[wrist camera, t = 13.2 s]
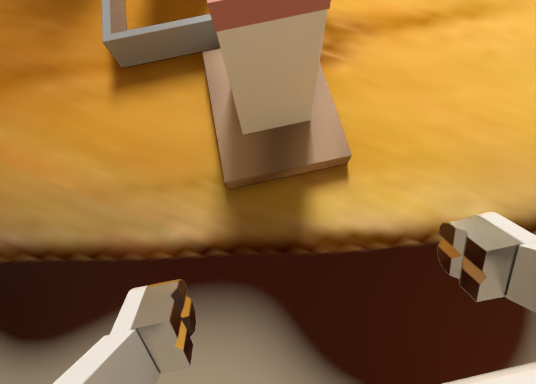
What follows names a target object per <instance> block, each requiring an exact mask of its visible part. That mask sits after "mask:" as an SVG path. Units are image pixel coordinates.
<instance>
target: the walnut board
mask: <svg viewBox="0 0 536 384" xmlns="http://www.w3.org/2000/svg"><path fill="white" fill-rule="evenodd" d="M203 58H204V64H205V70H206V76H207V81H208V87H209V93H210V99H211V105H212V111H213V116H214V122H215V128H216V134H217V140H218V146H219V152H220V157H221V163H222V169H223V175H224V181H225V184H226V186H227V188H228V189H231V188H236V187H240V186H245V185H250V184H254V183H259V182H264V181H268V180H273V179H278V178H282V177H287V176H292V175H296V174H301V173H306V172H310V171H315V170H320V169H324V168H329V167H333V166H338V165H343V164H347V163H348V162H349V160H350V158H351V156H352V155H351V152H350V149H349V146H348V143H347V140H346V137H345V134H344V132H343V129H342V126H341V123H340V120H339V117H338V114H337V111H336V108H335V105H334V102H333V99H332V96H331V93H330V91H329V88H328V85H327V82H326V79H325V76H324V73H323V70H322V67H321V64H320V62H319V68H318V75H317V81H316V88H315V94H314V101H313V107H312V114H311V120H309V121H305V122H300V123H295V124H290V125H286V126H281V127H276V128H272V129H267V130H262V131H257V132H253V133H248V134H243V133H242V129H241V125H240V121H239V117H238V114H237V110H236V106H235V102H234V98H233V94H232V90H231V87H230V83H229V79H228V75H227V71H226V67H225V63H224V60H223V56H222V52H221V48H220V49H215V50H210V51H205V52H203Z"/></svg>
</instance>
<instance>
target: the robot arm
mask: <svg viewBox="0 0 536 384" xmlns="http://www.w3.org/2000/svg"><path fill="white" fill-rule="evenodd" d="M439 235H440V236H441V237H442V238H443V240H442V241H441V242H440V244H439V245H438V251H437V255H438V258H439V261H440V264H441V265H442V267H443V269H444V270H445V271H446V272H447V273H448V274H449V275H451V276H453V277H456V278H458V279H460V286H461V287H462V288H463V289H464V290H465V291H466V292H467V293H468V294H469V295H470V296H471V297H472V298H473V299H474V300H475V301H476V302H479V301H484V300H489V299H494V298H499V297H505V296H506V298H508V299H509V300H512V301H513V302H516V303H518V304H520V305H522V306H524V307H526V308H528V309H530V310H532V311H534V312H536V236H535V235H533V234H532V233H530V232H528V231H527V230H525V229H523V228H521V227H520V226H518V225H516V224H515V223H513V222H511V221H509V220H508V219H506V218H504V217H503V216H501V215H499V214H498V213H495V212H486V213H482V214H478V215H474V216H471V217H467V218H462V219H458V220H453V221H449V222H444V223H442V225H441V226H440V230H439ZM186 293H187V287H186V285H185V282H184V280H182V279H179V280H174V281H168V282H163V283H157V284H152V285H149V286H143V287H138V288H133V289H131V290H130V291H129V293H128V294H127V297H126V299H125V301H124V304H123V306H122V308H121V310H120V313H119V315H118V317H117V320H116V322H115V324H114V326H113V328H112V331H111V333H110V335H107V336H104V337H103V338H102V339H100V340H99V341H98V342H97V343H96V344H95V345H94V346H93V347H92V348H91V349H90V350H89V351H88V352H87V353H86V354H84V356H82V357H81V358H80V359H79V360H78V361H77V362H76V363H75V364H74V365H73V366H71V367H70V368H69V369H68V370H67V371H66V372H65V373H64V374H63V375H62V376H61V377H60V378H59V379H58V380H57V381H55V382H54V383H53V384H155V383H156V382H157V380H158V379H159V377H160V374H161V373H165V372H169V371H173V370H177V369H181V368H185V367H189V366H190V364H191V357H192V350H193V343H192V340H191V338H190V337H191V335H192V334H193V333H194V332H195V325H196V316H195V309H194V305H193V302H192V300H191V299H190V298H188V297H187V296H186ZM443 384H536V362H533V363H529V364H525V365H521V366H516V367H512V368H508V369H503V370H499V371H495V372H491V373H486V374H482V375H478V376H473V377H469V378H465V379H460V380H457V381H452V382H448V383H443Z"/></svg>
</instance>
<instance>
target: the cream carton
mask: <svg viewBox="0 0 536 384" xmlns="http://www.w3.org/2000/svg"><path fill="white" fill-rule="evenodd" d="M330 1H331V0H207V4H208V7H209V11H210V15H211V19H212V23H213V26H214V30H215V32H217V36H218V40H219V44H220V48H221V52H222V56H223V60H224V63H225V67H226V71H227V75H228V79H229V83H230V87H231V90H232V94H233V98H234V102H235V106H236V110H237V114H238V117H239V121H240V125H241V129H242V133H243V134H248V133H253V132H257V131H262V130H267V129H272V128H276V127H281V126H286V125H290V124H295V123H300V122H305V121H309V120H311V114H312V107H313V101H314V94H315V88H316V81H317V75H318V68H319V62H320V55H321V49H322V42H323V36H324V29H325V23H326V16H327V10H328V9H329V7H330Z"/></svg>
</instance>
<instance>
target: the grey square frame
mask: <svg viewBox="0 0 536 384" xmlns="http://www.w3.org/2000/svg"><path fill="white" fill-rule="evenodd" d="M102 31H103V43H104V44H105V46H106V47H107V48H108V50H109V51H110V53H111V54H112V55H113V57H114V58H115V60H116V61H117V62H118V64H119V65H120V67H121V68H124V67H128V66H133V65H138V64H143V63H148V62H153V61H158V60H163V59H168V58H172V57H177V56H182V55H187V54H192V53H197V52H202V51H207V50H211V49H216V48H220V44H219V40H218V36H217V32H215V30H214V26H213V23H212V19H211V15H210V14H207V15H202V16H197V17H192V18H187V19H182V20H177V21H172V22H167V23H162V24H157V25H152V26H147V27H142V28H137V29H132V30H127V23H126V6H125V0H102Z"/></svg>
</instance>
